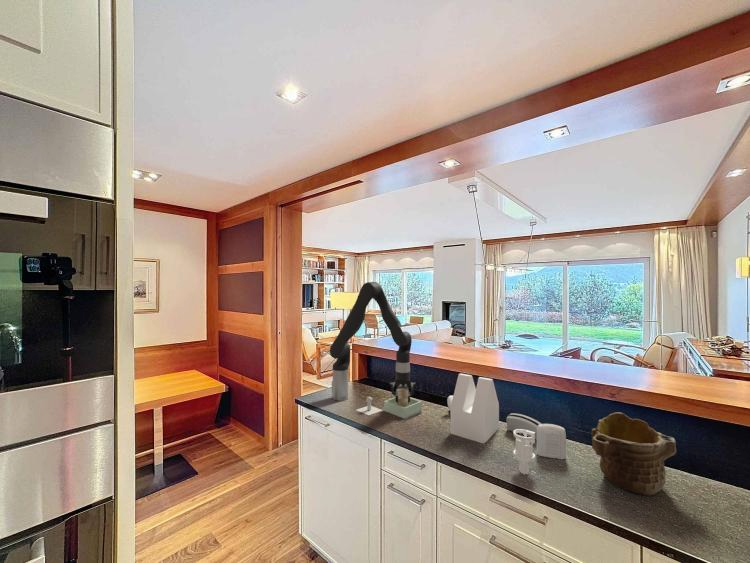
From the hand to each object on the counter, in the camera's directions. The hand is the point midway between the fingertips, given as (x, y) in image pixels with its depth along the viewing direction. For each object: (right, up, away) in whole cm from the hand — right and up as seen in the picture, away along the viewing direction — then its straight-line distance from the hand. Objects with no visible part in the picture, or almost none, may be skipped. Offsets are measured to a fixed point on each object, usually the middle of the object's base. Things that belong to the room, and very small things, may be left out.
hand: (402, 402), depth 172 cm
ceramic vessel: (+71, -5, -61) cm, 94 cm away
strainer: (+39, -5, -54) cm, 67 cm away
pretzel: (+28, -6, 0) cm, 29 cm away
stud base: (-18, -5, +1) cm, 18 cm away
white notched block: (+32, -6, -21) cm, 38 cm away
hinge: (+53, -6, -25) cm, 59 cm away
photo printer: (+55, -5, -43) cm, 70 cm away
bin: (0, -5, 0) cm, 5 cm away
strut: (0, -3, 0) cm, 3 cm away
